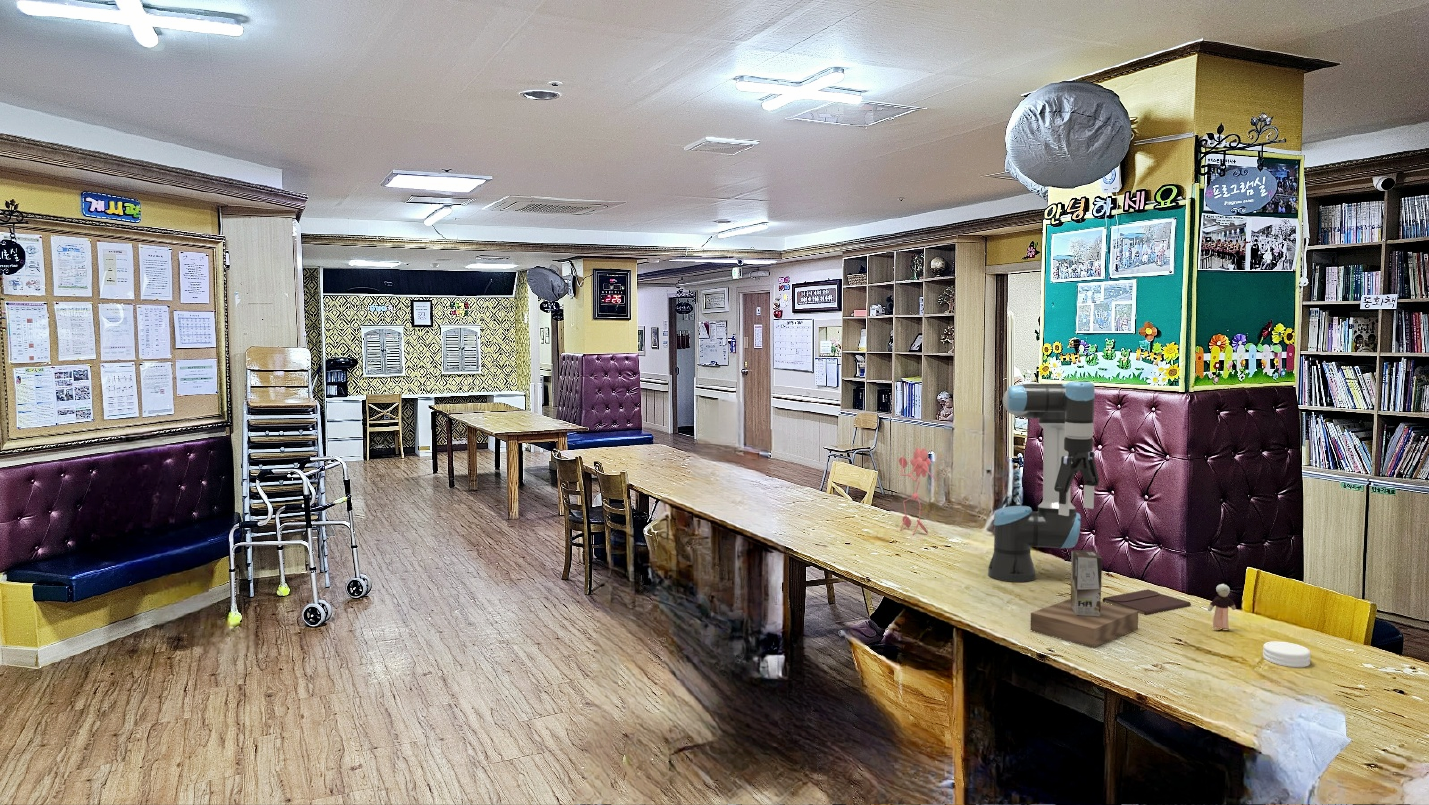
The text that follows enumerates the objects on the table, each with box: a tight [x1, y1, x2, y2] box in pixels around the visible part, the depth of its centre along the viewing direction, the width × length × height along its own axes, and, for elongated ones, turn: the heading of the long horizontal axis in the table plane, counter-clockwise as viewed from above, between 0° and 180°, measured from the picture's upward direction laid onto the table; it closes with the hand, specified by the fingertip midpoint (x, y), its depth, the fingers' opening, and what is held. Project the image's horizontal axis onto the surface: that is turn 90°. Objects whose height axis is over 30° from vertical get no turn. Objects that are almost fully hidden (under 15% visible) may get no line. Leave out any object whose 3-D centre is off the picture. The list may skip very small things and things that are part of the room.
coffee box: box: [1070, 549, 1103, 617], centre depth 247 cm, size 9×6×16 cm
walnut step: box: [1029, 598, 1139, 649], centre depth 247 cm, size 24×18×5 cm
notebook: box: [1102, 588, 1192, 616], centre depth 271 cm, size 15×20×2 cm
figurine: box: [898, 446, 938, 536], centre depth 373 cm, size 15×26×35 cm, turn 22°
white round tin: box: [1262, 640, 1312, 668], centre depth 224 cm, size 10×10×4 cm
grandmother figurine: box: [1207, 583, 1237, 631], centre depth 247 cm, size 8×4×13 cm, turn 105°
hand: (1076, 511), depth 256 cm, fingers open, 13 cm apart
